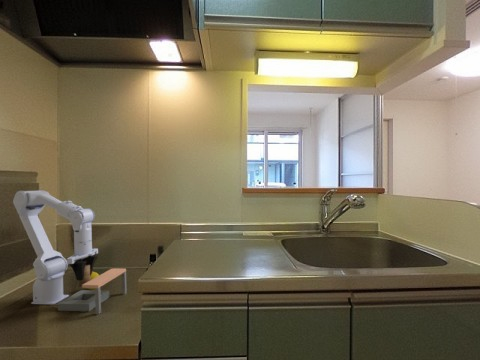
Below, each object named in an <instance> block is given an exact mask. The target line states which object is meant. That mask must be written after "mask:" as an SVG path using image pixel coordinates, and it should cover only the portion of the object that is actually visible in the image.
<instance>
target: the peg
mask: <svg viewBox="0 0 480 360" xmlns="http://www.w3.org/2000/svg"><path fill="white" fill-rule="evenodd" d="M88 281H90V265H88V264H86V265H85V268H84V278H83V280H77V284H78V285H77V286H78V287H80V288H82V285H83V284H85V283H86V282H88Z"/></svg>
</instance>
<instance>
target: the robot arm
mask: <svg viewBox="0 0 480 360" xmlns="http://www.w3.org/2000/svg"><path fill="white" fill-rule="evenodd" d="M12 203H13V206H14V208H15V209H16V210H15V211H16V212H17V214H18V215H19V219H20V221H21V223H22V225H23V228H24V230H25V231H26V235H27V236H28V239H29V240H30V243H31V246H32V248H33V249H34V252H35V254H36V258H35V260H34V262H33V263H32V266H33V269H34V270H33V272H34V275H35V277H36V279H35V281H34V282H33V284H32V302H30V303H31V304H32V305H56V304H58V303H59V302H61V301H63V300H65V299H66V298H68V297H70V294H64V275H65V272H66V271H67V269H68V266H70V267H71V269H72V271H73V272H74V276H75V279H76V281H78V280H83V278H84V268H85V265H86V264H88V265H90V276H91V274H92V272H93V269H94V265H95V263H96V261H97V259H98V255H96V254H99V248H97V247H96V248H95V247H94V248H93V242H92V240H93V238H92V237H93V236H92V235H93V233H92V230H93V229H92V223H93V222H94V221H95V218H96V214H95V212H94V210H93V209H91V208H90V207H87V208H83V207H82V206H81V205H77V204H75V203H73V201H72V200H64V201H62V200H60V199H58V198H56V197H54V196H53V195H51V194H50V193H49V191H46V190H43V189H39V190H18V191H17V192H16V193H15V194H14V197H13V200H12ZM45 206H46V207H49V208H51V209H54V210H56V213H57V214H58V216H61V217H63V218H65V219H68V221H69V222H70V224H71V225H72V229H73V238H74V239H73V240H74V242H73V244H74V246H73V247H74V254H72V255H71V256H69V257H68V258H65V257H64V256H63V254H62V252H59V251H57V250H55V249H54V248H53V246H52V244H51V242H50V240H49V237H48V235H47V233H46V231H45V228H44V227H43V225H42V223H41V220H40V218H39V214H40V213H41V212H42V211H43V209H44V208H45Z"/></svg>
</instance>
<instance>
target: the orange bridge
mask: <svg viewBox="0 0 480 360" xmlns="http://www.w3.org/2000/svg"><path fill="white" fill-rule="evenodd" d="M119 276H121V293H122V294H121V295H127V293H128V292H127V290H128V289H127V269H126V268H119V267H118V268H115V267H114V268H110V269H108V270H107V271H105V272H104V273H101V274H99V276H97V277H96V278H94V279H92V280H90V281H88V282H86V283H85V284H83V285H82V287H81V288H82V289H88V288H95V305H96V307H95V315H101V314H102V303H101V291H102V290H101V288H102V287H103V286H104V285H106V284H107V283H109V282H111V281H113V280H114V279H116V278H118V277H119ZM100 313H101V314H100Z"/></svg>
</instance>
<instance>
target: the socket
mask: <svg viewBox="0 0 480 360" xmlns="http://www.w3.org/2000/svg"><path fill="white" fill-rule="evenodd" d="M108 298H110V290H101V304H102V303H103V302H104V301H107V300H108ZM93 309H96V305H95V290H90V289H87V290H85V289H84V290H83V289H80V290H79V291H77V292H75V293H74V294H72V295H71V296H70V295H69V296H68V297H66V298H65V299H63V300H61V301H59V302H57V311H58V312H59V311H61V312H62V311H64V312H90V311H92V310H93Z"/></svg>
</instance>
